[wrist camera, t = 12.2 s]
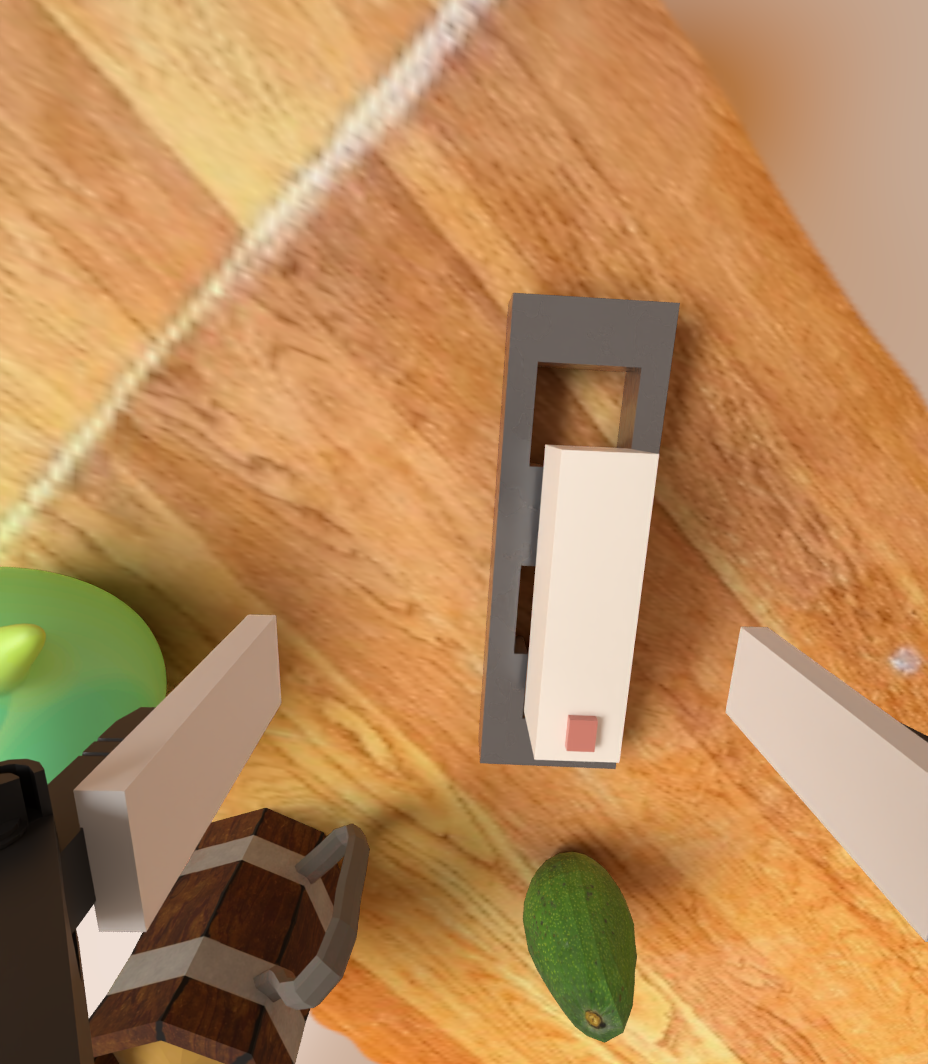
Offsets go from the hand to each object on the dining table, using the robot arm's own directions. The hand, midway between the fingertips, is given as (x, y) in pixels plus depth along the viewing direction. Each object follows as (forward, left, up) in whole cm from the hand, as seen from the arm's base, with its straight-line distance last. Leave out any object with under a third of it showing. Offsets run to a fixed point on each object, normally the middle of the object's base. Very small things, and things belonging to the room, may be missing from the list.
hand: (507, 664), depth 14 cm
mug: (+30, -14, -23) cm, 40 cm away
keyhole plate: (+2, +6, -22) cm, 23 cm away
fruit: (+30, +9, -23) cm, 39 cm away
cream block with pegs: (+4, +6, -22) cm, 23 cm away
